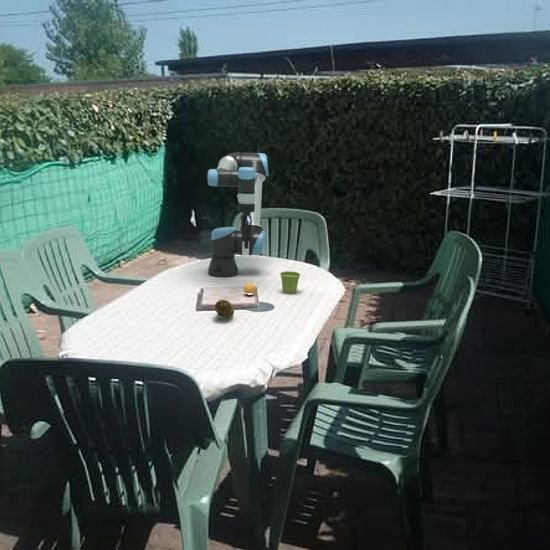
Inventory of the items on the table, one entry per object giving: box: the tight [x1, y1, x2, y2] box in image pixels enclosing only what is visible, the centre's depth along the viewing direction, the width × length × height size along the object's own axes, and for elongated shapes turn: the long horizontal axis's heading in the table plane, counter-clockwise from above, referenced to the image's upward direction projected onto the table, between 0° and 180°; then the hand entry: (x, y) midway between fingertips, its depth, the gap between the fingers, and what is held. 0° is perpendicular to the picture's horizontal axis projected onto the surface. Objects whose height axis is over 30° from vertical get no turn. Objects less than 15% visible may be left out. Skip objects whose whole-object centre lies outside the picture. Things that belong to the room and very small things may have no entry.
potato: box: [214, 299, 235, 319], centre depth 228 cm, size 8×13×8 cm, turn 159°
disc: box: [243, 301, 275, 313], centre depth 244 cm, size 13×13×1 cm
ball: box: [243, 282, 257, 294], centre depth 259 cm, size 6×6×6 cm
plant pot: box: [279, 270, 301, 295], centre depth 266 cm, size 9×9×9 cm
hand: (245, 255), depth 265 cm, fingers closed
